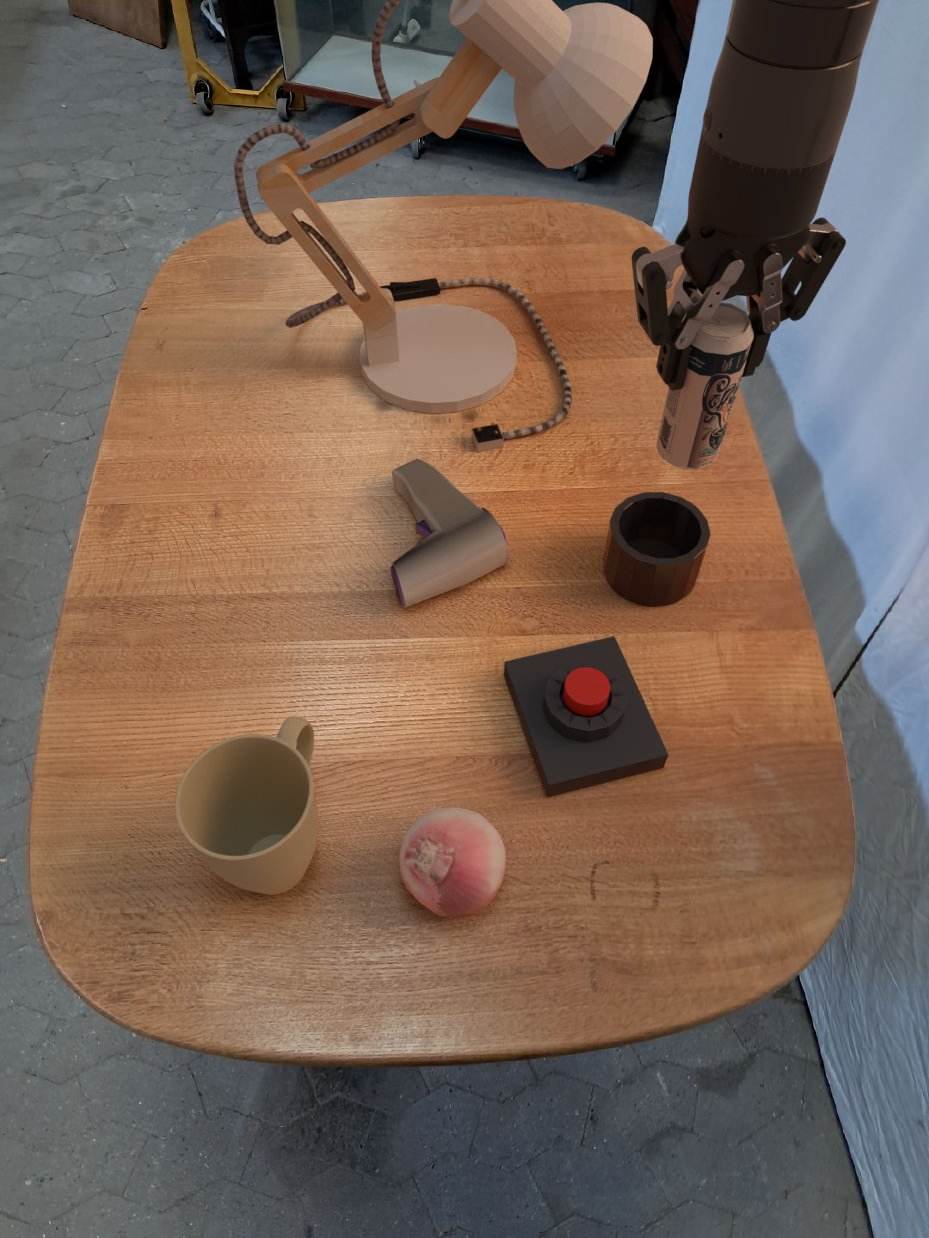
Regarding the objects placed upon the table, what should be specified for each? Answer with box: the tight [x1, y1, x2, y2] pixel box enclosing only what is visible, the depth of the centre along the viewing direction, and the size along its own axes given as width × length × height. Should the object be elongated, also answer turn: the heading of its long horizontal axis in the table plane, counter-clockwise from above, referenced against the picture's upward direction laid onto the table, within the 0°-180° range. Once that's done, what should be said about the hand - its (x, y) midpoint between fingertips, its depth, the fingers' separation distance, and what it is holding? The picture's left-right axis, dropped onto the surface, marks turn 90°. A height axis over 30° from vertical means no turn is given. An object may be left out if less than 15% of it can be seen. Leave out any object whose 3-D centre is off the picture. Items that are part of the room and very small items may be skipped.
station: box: [503, 636, 669, 798], centre depth 75 cm, size 12×10×4 cm
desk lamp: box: [233, 0, 654, 453], centre depth 88 cm, size 31×38×40 cm
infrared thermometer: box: [390, 458, 509, 608], centre depth 86 cm, size 5×12×15 cm
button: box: [563, 667, 610, 716], centre depth 73 cm, size 4×4×2 cm
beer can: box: [656, 302, 754, 470], centre depth 65 cm, size 5×5×12 cm
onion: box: [398, 806, 507, 919], centre depth 65 cm, size 8×8×7 cm
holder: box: [602, 491, 711, 608], centre depth 83 cm, size 9×9×6 cm
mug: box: [174, 715, 320, 896], centre depth 65 cm, size 11×10×12 cm
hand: (706, 375), depth 64 cm, fingers closed on beer can, 4 cm apart
